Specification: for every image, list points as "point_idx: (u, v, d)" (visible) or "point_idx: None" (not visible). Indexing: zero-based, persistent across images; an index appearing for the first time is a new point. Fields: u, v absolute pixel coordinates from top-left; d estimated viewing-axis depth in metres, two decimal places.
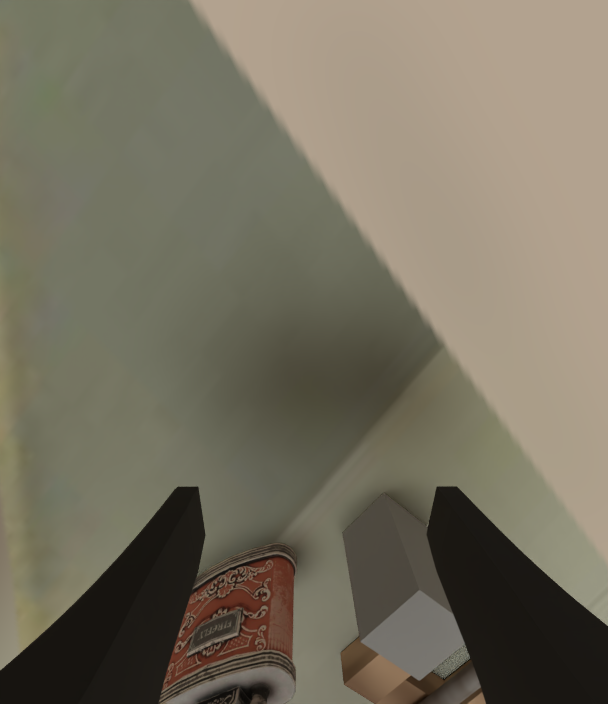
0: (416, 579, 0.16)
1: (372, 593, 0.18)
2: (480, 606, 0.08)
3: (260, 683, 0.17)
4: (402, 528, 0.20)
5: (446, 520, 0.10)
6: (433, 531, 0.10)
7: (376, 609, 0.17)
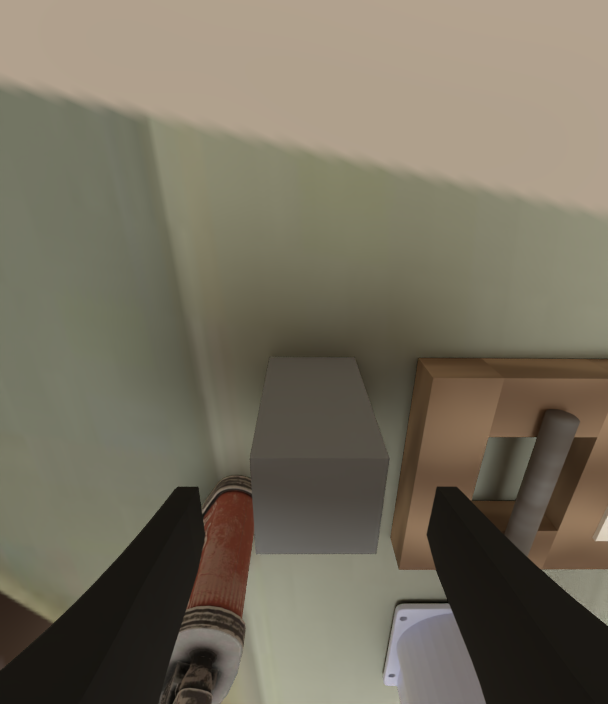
0: (253, 445, 0.10)
1: None
2: (480, 606, 0.08)
3: (193, 649, 0.13)
4: (278, 385, 0.14)
5: (446, 520, 0.10)
6: (433, 531, 0.10)
7: None
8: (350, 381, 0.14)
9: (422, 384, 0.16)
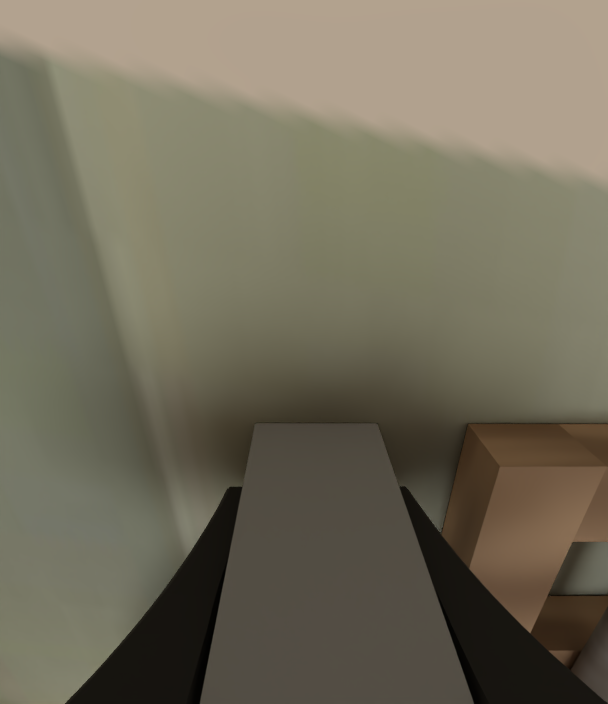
0: (210, 663, 0.06)
1: None
2: None
3: None
4: (265, 486, 0.09)
5: None
6: None
7: None
8: (376, 475, 0.09)
9: (476, 465, 0.11)
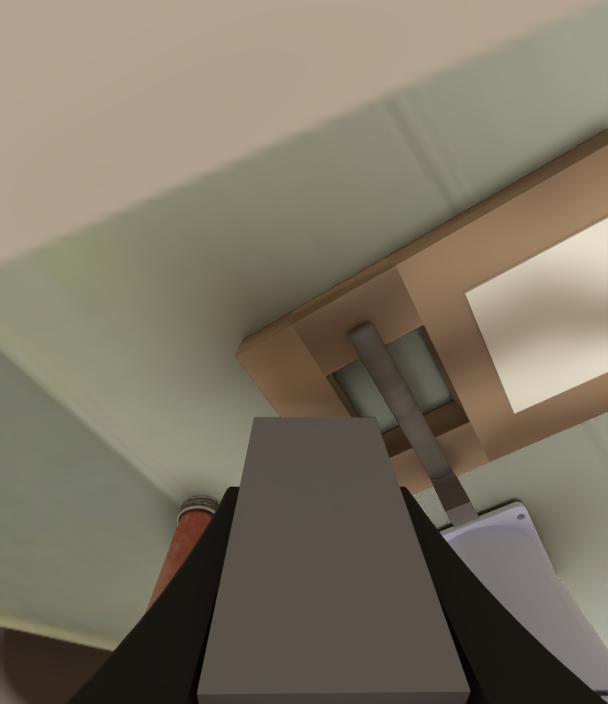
0: (209, 648, 0.06)
1: None
2: None
3: None
4: (264, 479, 0.09)
5: None
6: None
7: None
8: (373, 468, 0.09)
9: None
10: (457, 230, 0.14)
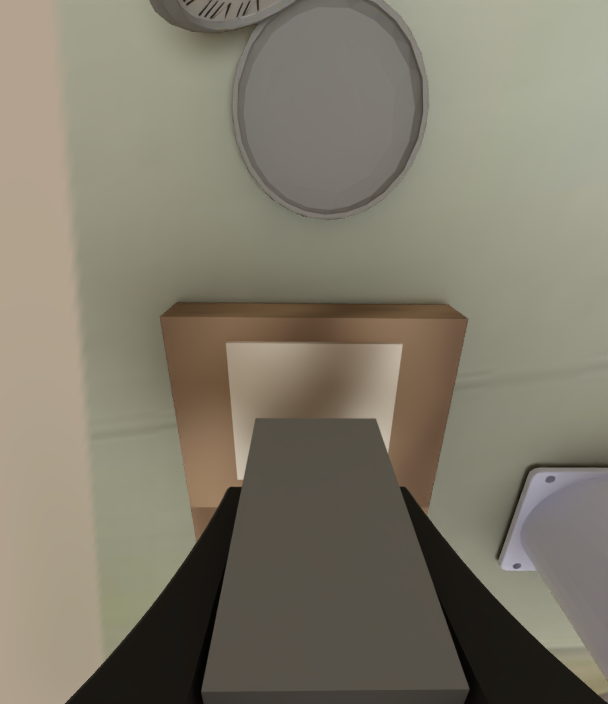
0: (212, 647, 0.06)
1: None
2: None
3: None
4: (266, 479, 0.09)
5: None
6: None
7: None
8: (374, 469, 0.09)
9: None
10: (184, 465, 0.16)
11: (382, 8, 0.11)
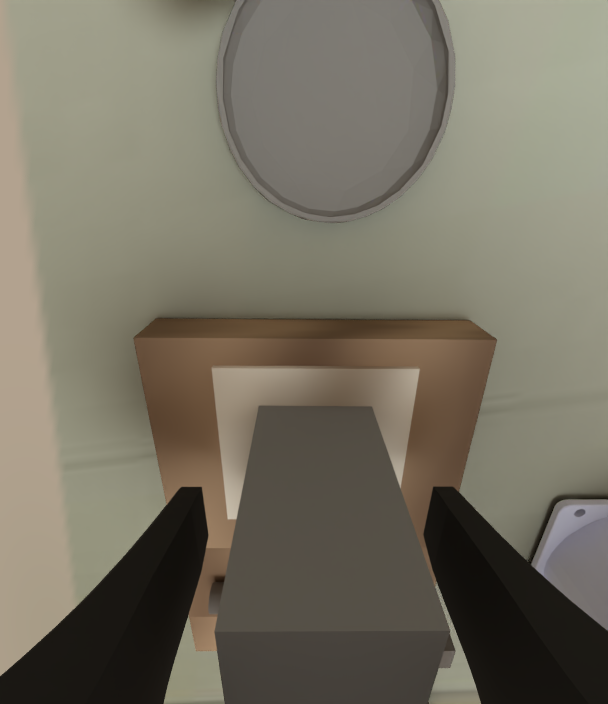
0: (224, 596, 0.06)
1: None
2: (475, 606, 0.08)
3: None
4: (269, 459, 0.10)
5: (442, 520, 0.10)
6: (429, 531, 0.10)
7: None
8: (369, 450, 0.10)
9: None
10: (166, 502, 0.14)
11: None
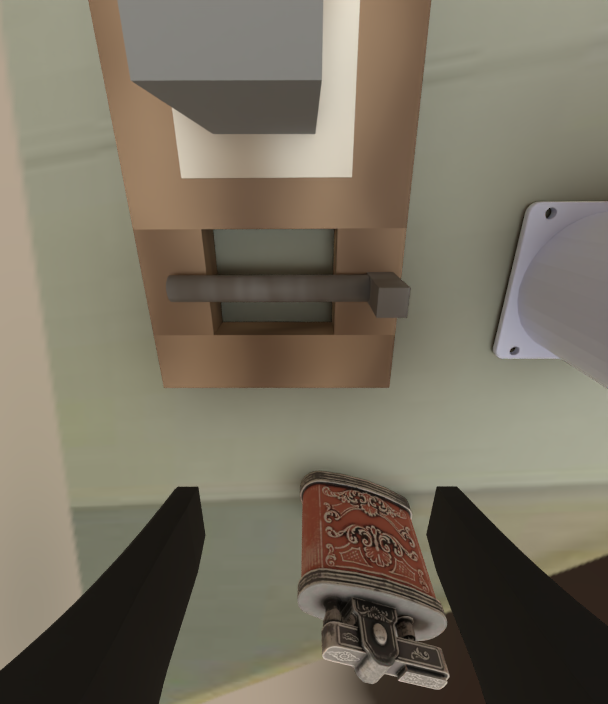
0: None
1: None
2: (480, 606, 0.08)
3: (323, 606, 0.17)
4: None
5: (446, 520, 0.10)
6: (433, 531, 0.10)
7: None
8: None
9: None
10: None
11: None
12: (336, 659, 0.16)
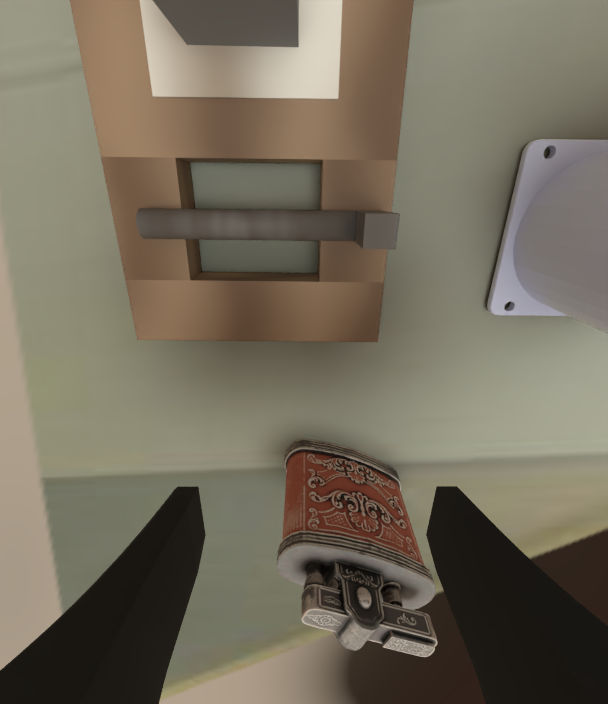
0: None
1: None
2: (480, 606, 0.08)
3: (305, 571, 0.16)
4: None
5: (446, 520, 0.10)
6: (433, 531, 0.10)
7: None
8: None
9: None
10: None
11: None
12: (316, 623, 0.14)
